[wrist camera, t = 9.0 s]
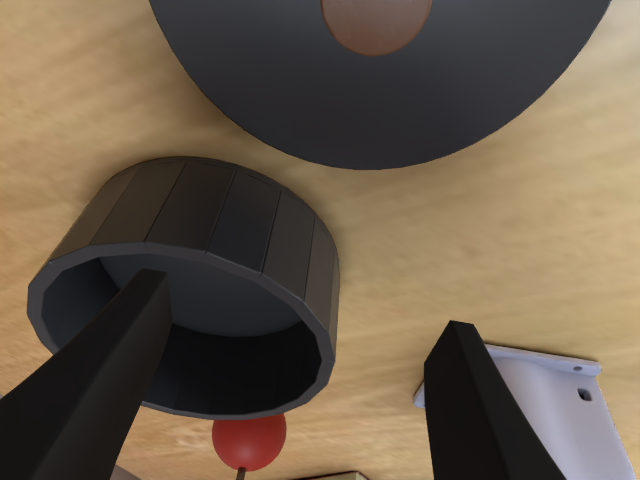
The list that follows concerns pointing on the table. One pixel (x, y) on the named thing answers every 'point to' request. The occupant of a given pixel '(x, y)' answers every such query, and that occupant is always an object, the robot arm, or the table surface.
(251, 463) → the apple
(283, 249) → the pan
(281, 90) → the lid
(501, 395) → the robot arm
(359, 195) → the table surface
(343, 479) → the gift box
